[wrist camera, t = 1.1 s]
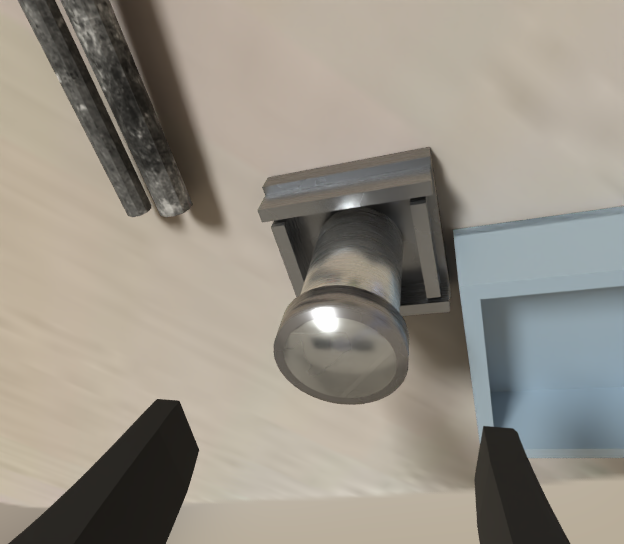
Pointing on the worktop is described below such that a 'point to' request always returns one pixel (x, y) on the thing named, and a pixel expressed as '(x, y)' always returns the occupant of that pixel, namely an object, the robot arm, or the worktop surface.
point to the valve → (110, 102)
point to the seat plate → (375, 195)
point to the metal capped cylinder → (348, 313)
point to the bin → (547, 330)
